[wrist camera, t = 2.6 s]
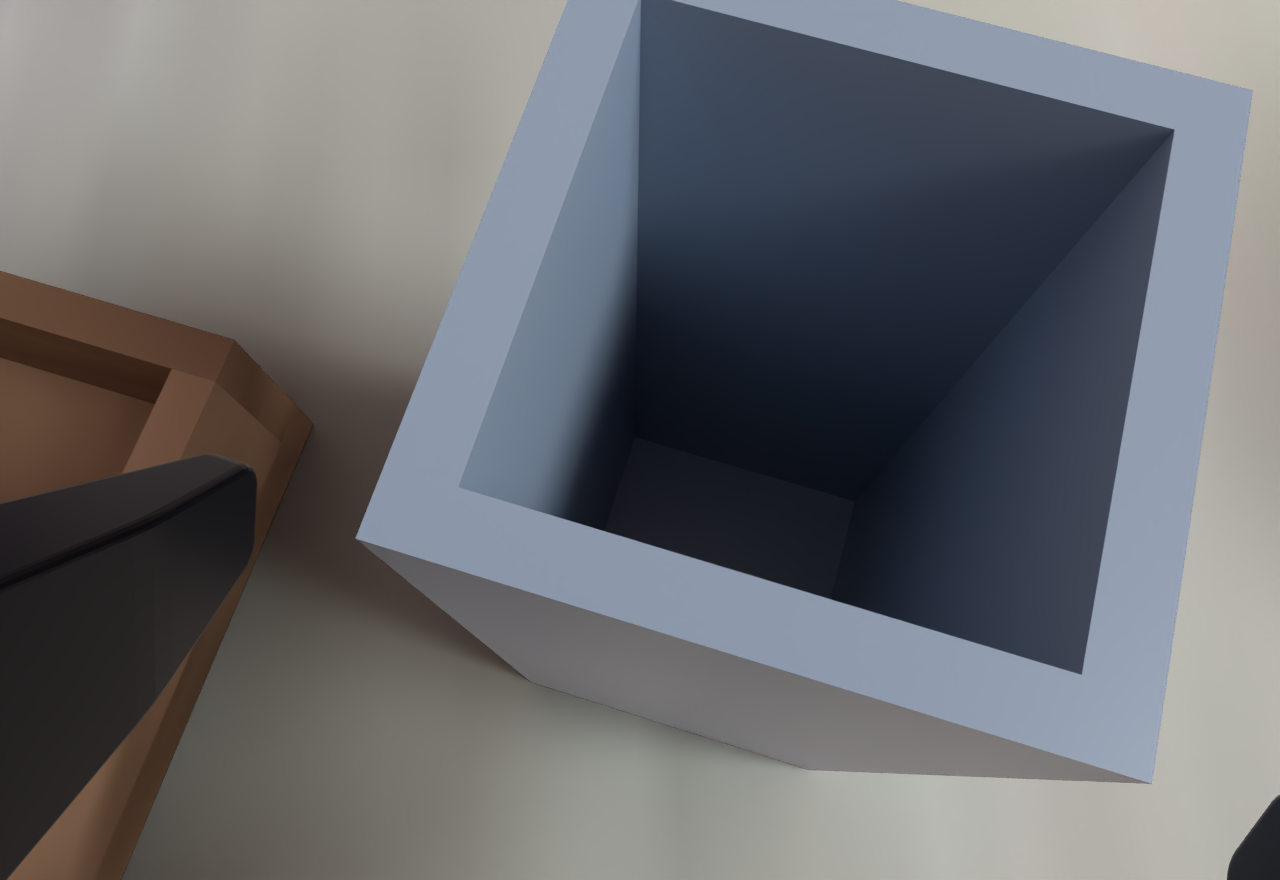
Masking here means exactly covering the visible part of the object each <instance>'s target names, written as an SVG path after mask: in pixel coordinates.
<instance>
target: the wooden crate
mask: <svg viewBox="0 0 1280 880" xmlns="http://www.w3.org/2000/svg"><path fill="white" fill-rule="evenodd" d="M312 426H313V423H312V422H311V421H310V420H309V419H308V418H307V417H306V416H305V415H304V414H303V413H302V411H301V410H300V409H299V408H298V407H297V406H296V405H295V404H294V403H293V402H292V401H291V400H290V399H289V398H288V396H287V395H286V394H285V393H284V392H283V391H282V390H281V389H280V388H279V387H278V386H277V385H276V384H275V383H274V382H273V380H272V379H271V378H270V377H269V376H268V375H267V374H266V373H265V372H264V371H263V370H262V369H261V368H260V367H259V365H258V364H257V363H256V362H255V361H254V360H253V359H252V358H251V357H250V356H249V355H248V354H247V353H246V352H245V351H244V349H243V348H242V347H241V346H240V345H239V344H238V343H237V342H236V341H235V340H233V339H230V338H226V337H223V336H219V335H216V334H213V333H209V332H206V331H202V330H199V329H196V328H192V327H189V326H185V325H182V324H179V323H175V322H172V321H168V320H165V319H162V318H158V317H155V316H152V315H148V314H145V313H141V312H138V311H135V310H131V309H128V308H124V307H121V306H118V305H114V304H111V303H107V302H104V301H101V300H97V299H94V298H90V297H87V296H84V295H80V294H77V293H73V292H70V291H67V290H63V289H60V288H56V287H53V286H50V285H46V284H43V283H39V282H36V281H33V280H29V279H26V278H22V277H19V276H16V275H12V274H9V273H6V272H2V271H0V503H3V502H7V501H11V500H15V499H19V498H24V497H28V496H32V495H36V494H40V493H44V492H48V491H53V490H57V489H61V488H65V487H69V486H73V485H77V484H82V483H86V482H90V481H94V480H98V479H102V478H106V477H110V476H115V475H119V474H123V473H127V472H131V471H135V470H139V469H144V468H148V467H152V466H156V465H160V464H164V463H168V462H173V461H177V460H181V459H185V458H189V457H193V456H197V455H202V454H207V453H213V454H217V455H221V456H224V457H227V458H230V459H234V460H237V461H240V462H243V463H246V464H249V465H250V466H251V467H252V468H253V469H254V470H255V472H256V476H257V506H256V529H255V544H254V548H253V552H252V555H251V558H250V560H249V562H248V565H247V566H246V568H245V570H244V571H243V573H242V574H241V576H240V577H239V579H238V580H237V582H236V583H235V585H234V586H233V588H232V589H231V591H230V592H229V594H228V595H227V597H226V598H225V600H224V601H223V603H222V604H221V606H220V607H219V609H218V610H217V612H216V613H215V615H214V616H213V618H212V619H211V621H210V622H209V624H208V625H207V627H206V628H205V630H204V631H203V633H202V634H201V636H200V637H199V639H198V640H197V642H196V643H195V645H194V646H193V648H192V649H191V651H190V652H189V654H188V655H187V657H186V658H185V660H184V661H183V663H182V664H181V666H180V667H179V669H178V670H177V672H176V673H175V675H174V676H173V678H172V679H171V681H170V682H169V684H168V685H167V687H166V688H165V689H164V691H163V692H162V694H161V695H160V696H159V698H158V699H157V701H156V702H155V703H154V704H153V706H152V707H151V708H150V709H149V711H148V712H147V713H146V714H145V716H144V717H143V718H142V719H141V721H140V722H139V723H138V724H137V726H136V727H135V728H134V729H133V730H132V732H131V733H130V734H129V735H128V736H127V738H126V739H125V740H124V741H123V742H122V744H121V745H120V746H119V747H118V748H117V749H116V751H115V752H114V753H113V754H112V755H111V757H110V758H109V759H108V760H107V761H106V763H105V764H104V765H103V766H102V767H101V769H100V770H99V771H98V772H97V773H96V775H95V776H94V777H93V778H92V779H91V780H90V782H89V783H88V784H87V785H86V786H85V788H84V789H83V790H82V791H81V792H80V794H79V795H78V796H77V797H76V798H75V800H74V801H73V802H72V803H71V804H70V805H69V807H68V808H67V809H66V810H65V811H64V813H63V814H62V815H61V816H60V817H59V819H58V820H57V821H56V822H55V823H54V825H53V826H52V827H51V828H50V829H49V830H48V832H47V833H46V834H45V835H44V836H43V838H42V839H41V840H40V841H39V842H38V844H37V845H36V846H35V847H34V848H33V850H32V851H31V852H30V853H29V854H28V855H27V857H26V858H25V859H24V860H23V861H22V863H21V864H20V865H19V866H18V867H17V869H16V870H15V871H14V872H13V873H12V875H11V876H10V877H9V878H8V879H7V880H121V878H122V876H123V873H124V871H125V869H126V866H127V864H128V862H129V859H130V857H131V855H132V852H133V850H134V847H135V845H136V843H137V840H138V838H139V836H140V833H141V831H142V828H143V826H144V824H145V821H146V819H147V817H148V814H149V812H150V810H151V807H152V805H153V802H154V800H155V798H156V795H157V793H158V791H159V788H160V786H161V783H162V781H163V779H164V776H165V774H166V772H167V769H168V767H169V764H170V762H171V760H172V757H173V755H174V753H175V750H176V748H177V746H178V743H179V741H180V738H181V736H182V734H183V731H184V729H185V727H186V724H187V722H188V719H189V717H190V715H191V712H192V710H193V708H194V705H195V703H196V701H197V698H198V696H199V693H200V691H201V689H202V686H203V684H204V682H205V679H206V677H207V674H208V672H209V670H210V667H211V665H212V663H213V660H214V658H215V655H216V653H217V651H218V648H219V646H220V644H221V641H222V639H223V637H224V634H225V632H226V629H227V627H228V625H229V622H230V620H231V618H232V615H233V613H234V610H235V608H236V606H237V603H238V601H239V599H240V596H241V594H242V592H243V589H244V587H245V584H246V582H247V580H248V577H249V575H250V573H251V570H252V568H253V565H254V563H255V561H256V558H257V556H258V554H259V551H260V549H261V547H262V544H263V542H264V539H265V537H266V535H267V532H268V530H269V528H270V525H271V523H272V520H273V518H274V516H275V513H276V511H277V509H278V506H279V504H280V501H281V499H282V497H283V494H284V492H285V490H286V487H287V485H288V483H289V480H290V478H291V475H292V473H293V471H294V468H295V466H296V464H297V461H298V459H299V456H300V454H301V452H302V449H303V447H304V445H305V442H306V440H307V438H308V435H309V433H310V430H311V428H312Z"/></svg>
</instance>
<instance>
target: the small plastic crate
mask: <svg viewBox="0 0 1280 880" xmlns="http://www.w3.org/2000/svg"><path fill="white" fill-rule="evenodd" d="M1252 93H1253V90H1249V89H1245V88H1241V87H1237V86H1233V85H1229V84H1225V83H1221V82H1217V81H1213V80H1209V79H1205V78H1201V77H1197V76H1193V75H1189V74H1186V73H1182V72H1178V71H1174V70H1170V69H1166V68H1162V67H1158V66H1154V65H1150V64H1146V63H1142V62H1138V61H1134V60H1130V59H1126V58H1122V57H1118V56H1114V55H1110V54H1106V53H1102V52H1098V51H1094V50H1091V49H1087V48H1083V47H1079V46H1075V45H1071V44H1067V43H1063V42H1059V41H1055V40H1051V39H1047V38H1043V37H1039V36H1035V35H1031V34H1027V33H1023V32H1019V31H1015V30H1011V29H1007V28H1003V27H1000V26H996V25H992V24H988V23H984V22H980V21H976V20H972V19H968V18H964V17H960V16H956V15H952V14H948V13H944V12H940V11H936V10H932V9H928V8H924V7H920V6H916V5H912V4H908V3H905V2H901V1H897V0H568V1H567V4H566V6H565V9H564V11H563V14H562V17H561V19H560V22H559V24H558V27H557V29H556V32H555V34H554V37H553V39H552V42H551V44H550V47H549V49H548V52H547V54H546V57H545V60H544V62H543V65H542V67H541V70H540V72H539V75H538V77H537V80H536V82H535V85H534V87H533V90H532V92H531V95H530V98H529V100H528V103H527V105H526V108H525V110H524V113H523V115H522V118H521V120H520V123H519V125H518V128H517V130H516V133H515V136H514V138H513V141H512V143H511V146H510V148H509V151H508V153H507V156H506V158H505V161H504V163H503V166H502V168H501V171H500V173H499V176H498V179H497V181H496V184H495V186H494V189H493V191H492V194H491V196H490V199H489V201H488V204H487V206H486V209H485V211H484V214H483V217H482V219H481V222H480V224H479V227H478V229H477V232H476V234H475V237H474V239H473V242H472V244H471V247H470V249H469V252H468V255H467V257H466V260H465V262H464V265H463V267H462V270H461V272H460V275H459V277H458V280H457V282H456V285H455V287H454V290H453V292H452V295H451V298H450V300H449V303H448V305H447V308H446V310H445V313H444V315H443V318H442V320H441V323H440V325H439V328H438V330H437V333H436V336H435V338H434V341H433V343H432V346H431V348H430V351H429V353H428V356H427V358H426V361H425V363H424V366H423V368H422V371H421V374H420V376H419V379H418V381H417V384H416V386H415V389H414V391H413V394H412V396H411V399H410V401H409V404H408V406H407V409H406V412H405V414H404V417H403V419H402V422H401V424H400V427H399V429H398V432H397V434H396V437H395V439H394V442H393V444H392V447H391V449H390V452H389V455H388V457H387V460H386V462H385V465H384V467H383V470H382V472H381V475H380V477H379V480H378V482H377V485H376V487H375V490H374V493H373V495H372V498H371V500H370V503H369V505H368V508H367V510H366V513H365V515H364V518H363V520H362V523H361V525H360V528H359V531H358V533H357V536H356V538H355V539H357V540H358V541H359V542H360V543H362V544H363V545H364V546H365V547H366V548H368V549H369V550H370V551H371V552H373V553H374V554H375V555H376V556H377V557H379V558H380V559H381V560H382V561H384V562H385V563H386V564H387V565H388V566H390V567H391V568H392V569H393V570H395V571H396V572H397V573H398V574H399V575H401V576H402V577H403V578H404V579H406V580H407V581H408V582H409V583H410V584H412V585H413V586H414V587H415V588H417V589H418V590H419V591H420V592H421V593H423V594H424V595H425V596H426V597H428V598H429V599H430V600H431V601H432V602H434V603H435V604H436V605H437V606H439V607H440V608H441V609H442V610H443V611H445V612H446V613H447V614H448V615H450V616H451V617H452V618H453V619H454V620H456V621H457V622H458V623H459V624H461V625H462V626H463V627H464V628H466V629H467V630H468V631H469V632H470V633H472V634H473V635H474V636H475V637H477V638H478V639H479V640H480V641H481V642H483V643H484V644H485V645H486V646H488V647H489V648H490V649H491V650H492V651H494V652H495V653H496V654H497V655H499V656H500V657H501V658H502V659H503V660H505V661H506V662H507V663H508V664H510V665H511V666H512V667H513V668H514V669H516V670H517V671H518V672H519V673H521V674H522V675H523V676H524V677H525V678H527V679H528V680H529V681H530V682H532V683H535V684H539V685H542V686H545V687H548V688H551V689H554V690H558V691H561V692H564V693H567V694H570V695H573V696H577V697H580V698H583V699H586V700H589V701H593V702H596V703H599V704H602V705H605V706H608V707H612V708H615V709H618V710H621V711H624V712H627V713H631V714H634V715H637V716H640V717H643V718H646V719H650V720H653V721H656V722H659V723H662V724H666V725H669V726H672V727H675V728H678V729H681V730H685V731H688V732H691V733H694V734H697V735H700V736H704V737H707V738H710V739H713V740H716V741H719V742H723V743H726V744H729V745H732V746H735V747H739V748H742V749H745V750H748V751H751V752H754V753H758V754H761V755H764V756H767V757H770V758H773V759H777V760H780V761H783V762H786V763H789V764H792V765H796V766H799V767H802V768H805V769H808V770H822V771H847V772H872V773H897V774H922V775H946V776H971V777H996V778H1021V779H1046V780H1071V781H1096V782H1121V783H1146V784H1152V780H1153V773H1154V767H1155V760H1156V753H1157V746H1158V739H1159V732H1160V725H1161V719H1162V712H1163V705H1164V698H1165V691H1166V684H1167V677H1168V670H1169V664H1170V657H1171V650H1172V643H1173V636H1174V629H1175V622H1176V615H1177V609H1178V602H1179V595H1180V588H1181V581H1182V574H1183V567H1184V560H1185V554H1186V547H1187V540H1188V533H1189V526H1190V519H1191V512H1192V506H1193V499H1194V492H1195V485H1196V478H1197V471H1198V464H1199V457H1200V451H1201V444H1202V437H1203V430H1204V423H1205V416H1206V409H1207V402H1208V396H1209V389H1210V382H1211V375H1212V368H1213V361H1214V354H1215V347H1216V341H1217V334H1218V327H1219V320H1220V313H1221V306H1222V299H1223V292H1224V286H1225V279H1226V272H1227V265H1228V258H1229V251H1230V244H1231V238H1232V231H1233V224H1234V217H1235V210H1236V203H1237V196H1238V189H1239V183H1240V176H1241V169H1242V162H1243V155H1244V148H1245V141H1246V134H1247V128H1248V121H1249V114H1250V107H1251V100H1252Z"/></svg>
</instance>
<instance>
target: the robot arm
mask: <svg viewBox="0 0 1280 880" xmlns="http://www.w3.org/2000/svg"><path fill="white" fill-rule="evenodd" d="M256 506H257V476H256V472H255V470H254V469H253V468H252V467H251V466H250V465H249V464H246V463H243V462H240V461H237V460H234V459H230V458H227V457H224V456H221V455H217V454H213V453H207V454H202V455H197V456H193V457H189V458H185V459H181V460H177V461H173V462H168V463H164V464H160V465H156V466H152V467H148V468H144V469H139V470H135V471H131V472H127V473H123V474H119V475H115V476H110V477H106V478H102V479H98V480H94V481H90V482H86V483H82V484H77V485H73V486H69V487H65V488H61V489H57V490H53V491H48V492H44V493H40V494H36V495H32V496H28V497H24V498H19V499H15V500H11V501H7V502H3V503H0V880H7V879H8V878H9V877H10V876H11V875H12V873H13V872H14V871H15V870H16V869H17V867H18V866H19V865H20V864H21V863H22V861H23V860H24V859H25V858H26V857H27V855H28V854H29V853H30V852H31V851H32V850H33V848H34V847H35V846H36V845H37V844H38V842H39V841H40V840H41V839H42V838H43V836H44V835H45V834H46V833H47V832H48V830H49V829H50V828H51V827H52V826H53V825H54V823H55V822H56V821H57V820H58V819H59V817H60V816H61V815H62V814H63V813H64V811H65V810H66V809H67V808H68V807H69V805H70V804H71V803H72V802H73V801H74V800H75V798H76V797H77V796H78V795H79V794H80V792H81V791H82V790H83V789H84V788H85V786H86V785H87V784H88V783H89V782H90V780H91V779H92V778H93V777H94V776H95V775H96V773H97V772H98V771H99V770H100V769H101V767H102V766H103V765H104V764H105V763H106V761H107V760H108V759H109V758H110V757H111V755H112V754H113V753H114V752H115V751H116V749H117V748H118V747H119V746H120V745H121V744H122V742H123V741H124V740H125V739H126V738H127V736H128V735H129V734H130V733H131V732H132V730H133V729H134V728H135V727H136V726H137V724H138V723H139V722H140V721H141V719H142V718H143V717H144V716H145V714H146V713H147V712H148V711H149V709H150V708H151V707H152V706H153V704H154V703H155V702H156V701H157V699H158V698H159V696H160V695H161V694H162V692H163V691H164V689H165V688H166V687H167V685H168V684H169V682H170V681H171V679H172V678H173V676H174V675H175V673H176V672H177V670H178V669H179V667H180V666H181V664H182V663H183V661H184V660H185V658H186V657H187V655H188V654H189V652H190V651H191V649H192V648H193V646H194V645H195V643H196V642H197V640H198V639H199V637H200V636H201V634H202V633H203V631H204V630H205V628H206V627H207V625H208V624H209V622H210V621H211V619H212V618H213V616H214V615H215V613H216V612H217V610H218V609H219V607H220V606H221V604H222V603H223V601H224V600H225V598H226V597H227V595H228V594H229V592H230V591H231V589H232V588H233V586H234V585H235V583H236V582H237V580H238V579H239V577H240V576H241V574H242V573H243V571H244V570H245V568H246V566H247V565H248V562H249V560H250V558H251V555H252V552H253V548H254V544H255V529H256ZM1227 880H1280V795H1278V796H1277V797H1276V798H1275V799H1274V800H1273V801H1272V802H1271V804H1270V805H1269V806H1268V808H1267V809H1266V810H1265V812H1264V813H1263V814H1262V816H1261V817H1260V819H1259V820H1258V821H1257V823H1256V824H1255V825H1254V827H1253V828H1252V829H1251V831H1250V832H1249V833H1248V835H1247V836H1246V837H1245V839H1244V840H1243V842H1242V843H1241V844H1240V846H1239V847H1238V848H1237V850H1236V851H1235V853H1234V855H1233V856H1232V859H1231V861H1230V864H1229V868H1228V874H1227Z"/></svg>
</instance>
